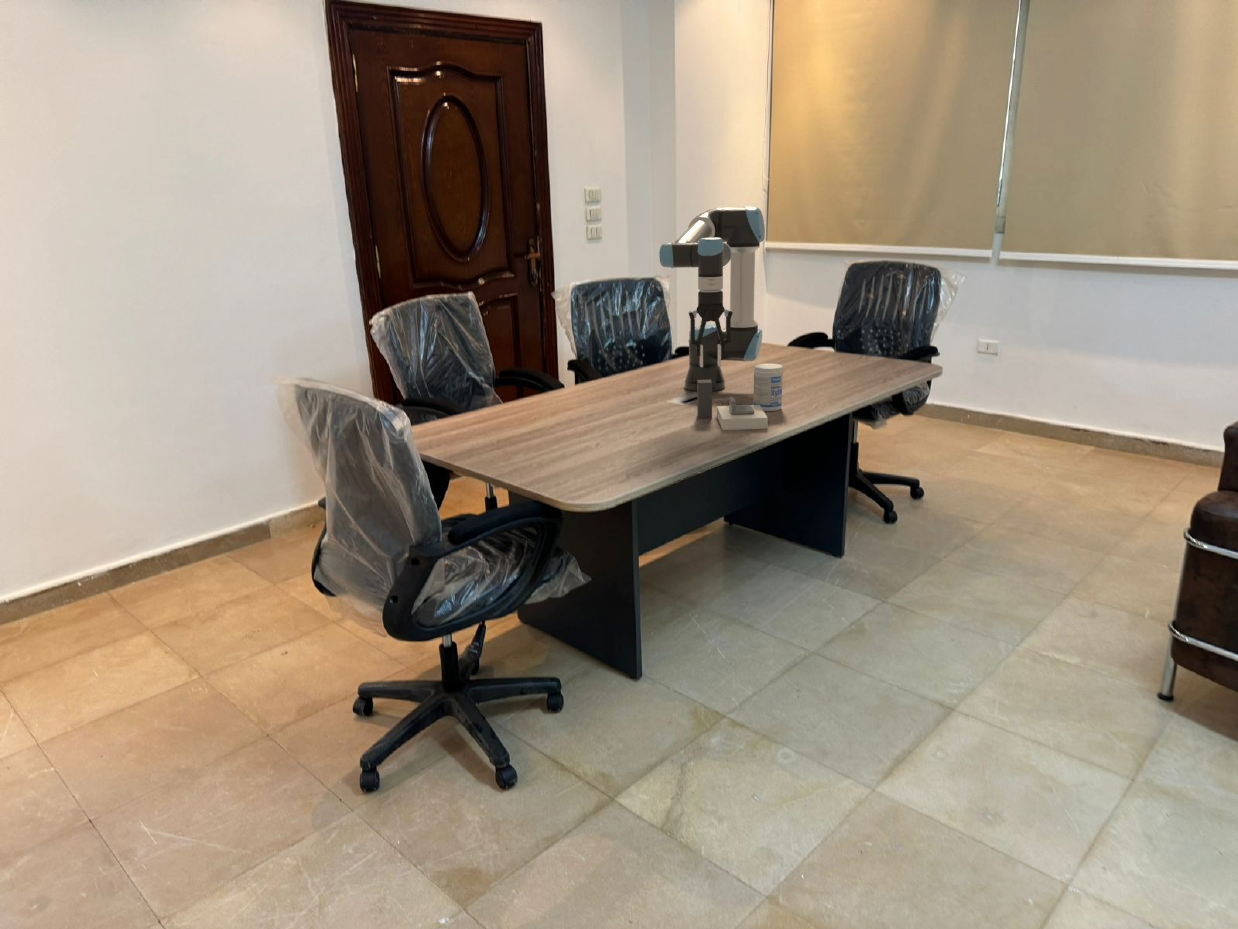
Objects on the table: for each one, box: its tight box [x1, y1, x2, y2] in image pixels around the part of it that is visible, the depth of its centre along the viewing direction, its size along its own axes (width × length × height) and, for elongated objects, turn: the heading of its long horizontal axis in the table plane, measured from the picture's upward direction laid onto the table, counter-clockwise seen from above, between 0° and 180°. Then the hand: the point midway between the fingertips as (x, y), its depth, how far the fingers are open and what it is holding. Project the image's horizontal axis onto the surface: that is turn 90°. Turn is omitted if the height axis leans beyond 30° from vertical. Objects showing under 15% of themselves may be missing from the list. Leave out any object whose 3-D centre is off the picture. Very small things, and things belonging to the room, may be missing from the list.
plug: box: [696, 380, 713, 420], centre depth 266 cm, size 4×4×12 cm
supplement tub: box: [752, 363, 784, 412], centre depth 273 cm, size 10×10×15 cm
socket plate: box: [716, 404, 769, 431], centre depth 260 cm, size 16×14×4 cm
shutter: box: [728, 396, 754, 414], centre depth 259 cm, size 7×7×4 cm
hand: (710, 365), depth 255 cm, fingers open, 5 cm apart
